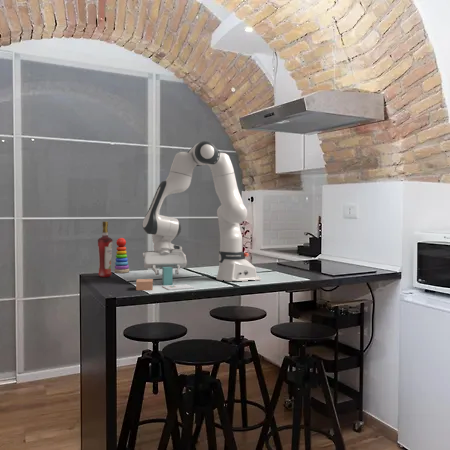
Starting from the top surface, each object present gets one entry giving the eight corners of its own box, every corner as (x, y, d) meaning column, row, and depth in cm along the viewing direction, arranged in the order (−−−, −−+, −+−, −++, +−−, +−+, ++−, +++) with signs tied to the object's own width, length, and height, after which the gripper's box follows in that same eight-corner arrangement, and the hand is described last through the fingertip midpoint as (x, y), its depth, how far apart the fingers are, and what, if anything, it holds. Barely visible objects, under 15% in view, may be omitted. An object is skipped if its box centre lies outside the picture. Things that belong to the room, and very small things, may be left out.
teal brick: (170, 283, 223) (170, 266, 223) (172, 285, 220) (172, 267, 219) (162, 283, 222) (162, 267, 222) (163, 285, 218) (164, 268, 218)
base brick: (152, 287, 212) (152, 279, 212) (152, 290, 206) (152, 281, 205) (136, 288, 212) (136, 279, 211) (136, 290, 205) (136, 281, 204)
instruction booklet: (186, 285, 220) (186, 283, 220) (194, 288, 212) (194, 286, 212) (161, 286, 215) (161, 285, 215) (168, 289, 207) (168, 288, 207)
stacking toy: (122, 270, 263) (123, 237, 262) (132, 272, 258) (132, 238, 257) (111, 272, 257) (111, 237, 256) (120, 273, 252) (120, 238, 251)
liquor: (102, 275, 246) (102, 221, 244) (115, 276, 243) (115, 221, 242) (94, 277, 239) (94, 221, 237) (107, 278, 236) (107, 222, 235)
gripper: (142, 246, 224) (145, 270, 215) (184, 246, 230) (189, 269, 221) (141, 255, 228) (144, 278, 219) (182, 254, 235) (187, 277, 226)
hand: (167, 273), depth 220 cm, fingers open, 8 cm apart
